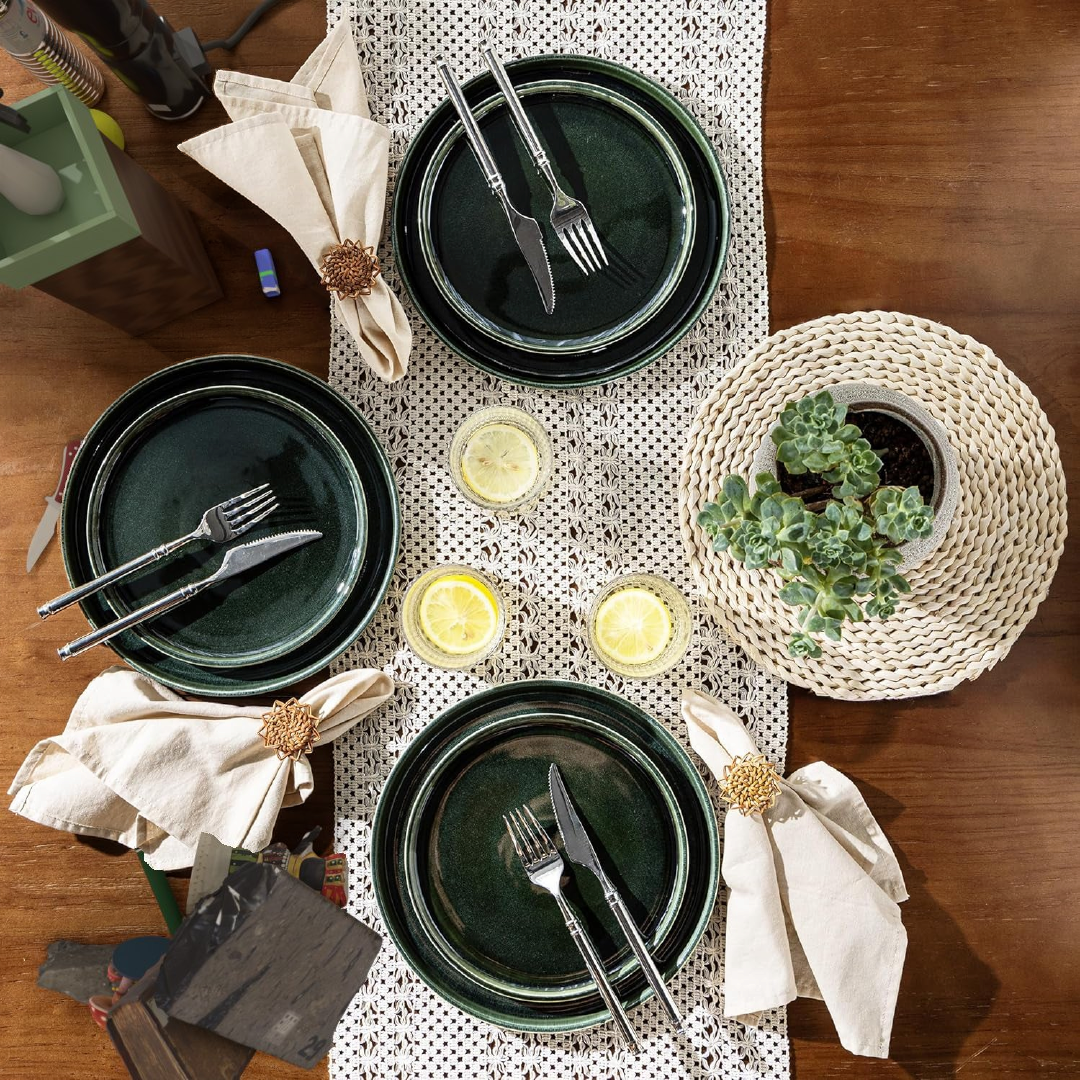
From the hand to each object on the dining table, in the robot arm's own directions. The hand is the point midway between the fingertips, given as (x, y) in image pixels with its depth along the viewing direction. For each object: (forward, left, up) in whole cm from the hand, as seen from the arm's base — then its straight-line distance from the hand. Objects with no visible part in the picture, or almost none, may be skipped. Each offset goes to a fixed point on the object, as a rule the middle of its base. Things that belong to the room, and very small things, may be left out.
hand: (7, 165), depth 81 cm
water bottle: (+1, -30, -34) cm, 45 cm away
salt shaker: (+1, -1, -9) cm, 10 cm away
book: (+28, +92, -34) cm, 102 cm away
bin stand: (+1, -1, -34) cm, 34 cm away
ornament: (+1, -20, -34) cm, 40 cm away
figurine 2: (+26, +78, -26) cm, 86 cm away
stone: (+48, +89, -34) cm, 106 cm away
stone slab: (+18, +80, -12) cm, 82 cm away
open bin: (+1, -1, -10) cm, 10 cm away
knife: (+30, +22, -33) cm, 49 cm away
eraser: (-12, +5, -33) cm, 35 cm away
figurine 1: (+35, +85, -26) cm, 96 cm away
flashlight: (+35, +72, -32) cm, 86 cm away
